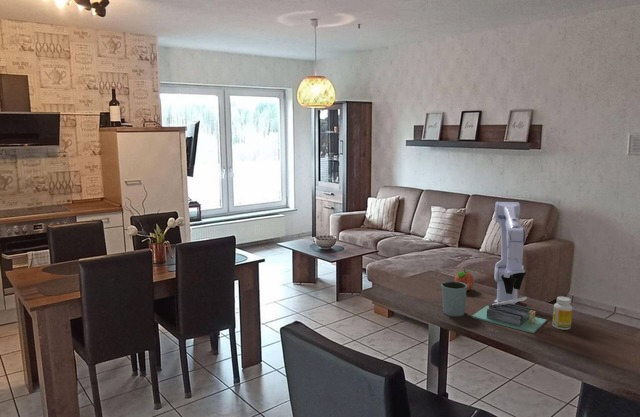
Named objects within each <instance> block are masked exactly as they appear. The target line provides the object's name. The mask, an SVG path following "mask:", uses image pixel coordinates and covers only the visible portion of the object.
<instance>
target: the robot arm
mask: <svg viewBox="0 0 640 417" xmlns="http://www.w3.org/2000/svg"><path fill="white" fill-rule="evenodd" d="M520 214H521V204H520V203H519V201H515V202H514V201H509V202H508V201H496V202H495V204H494V219H495V222H496V223H498V224H499V227H500V254H501V255H500V256H501V258H500V260H499V261H497V262H496V263H495V264H494V272H493V274H494V275H493V276H494V281H495V283H497V285H496V287H497V291H496V299H494V300H493V302H498V301H501V302H503V301H508V300H512V299H517V298H518V290H521V287H522V283H523V280H524V278H525V276H526V275H527V271H526V270H525V269H524V268H525V265H523V260H524V259H523V257H524V256H523V255H524V243H526V238H527V235H526V234H527V233H526V228H525V227H523V226H522V223H521V220H520V219H519V217H520ZM493 302H492V303H493ZM517 303H518V302H514V303H510V304H514V305H517Z"/></svg>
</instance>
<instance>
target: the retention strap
mask: <svg viewBox="0 0 640 417" xmlns="http://www.w3.org/2000/svg"><path fill="white" fill-rule="evenodd" d="M527 299H528V297H527V296H523V297H517V299H512V300H508V301H503V302H498V303H494V304H493V303H492V304H491V305H493V307H495V306H500V305H504V304H509V303H514V302H517V303H518V302H524V301H526V300H527Z"/></svg>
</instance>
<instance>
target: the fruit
mask: <svg viewBox="0 0 640 417" xmlns="http://www.w3.org/2000/svg"><path fill="white" fill-rule="evenodd" d="M472 273H473V272H472V271H469V270H468V271H467V270H466V269H463V271H459V272H458V273H457V274H456V275H455V277H454V281H457V282H462V283H465V284H466V285H467V291H470V290H471V289H472V288H473V286H474V283H475V280H474V277H473V275H472Z"/></svg>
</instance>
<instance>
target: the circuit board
mask: <svg viewBox="0 0 640 417" xmlns="http://www.w3.org/2000/svg"><path fill="white" fill-rule="evenodd" d="M487 309H489V305H486V306H484V307H483V308H481V309H480V310H478V311H476V312H475V313H474V314H472V315H471V318H473V319H475V320H476V319H477V320H481V321H484V322H488V323H492V324H496V325H499V326H504V327H507V328H512V329H515V330H517V331H518V330H519V331H523V332H526V333H530V334H535V333H536V332H537V331H538V330H539V329H540V328H541V327H542V326H544V324H545V323H546V322H547V319H545V318H542V317H537V316H535V323H534V324H533V325H529V319H528V320H527V321H526V322H525V323H524V324H523V325H521V326H520V327H519V326H515V325H511V324H507V323H503V322H499V321H496V320H492V319H488V318H487Z"/></svg>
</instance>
